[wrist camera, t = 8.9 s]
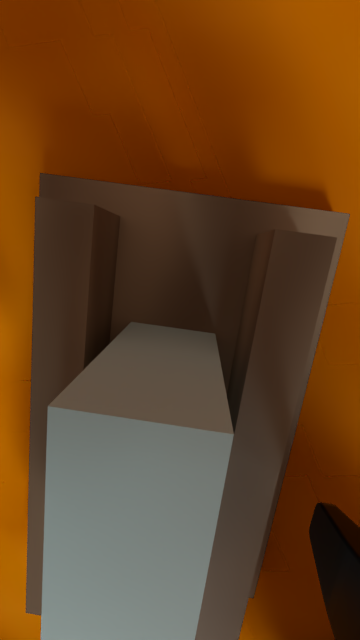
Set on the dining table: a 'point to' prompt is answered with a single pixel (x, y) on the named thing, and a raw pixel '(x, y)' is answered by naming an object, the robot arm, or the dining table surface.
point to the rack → (191, 314)
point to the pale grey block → (135, 488)
